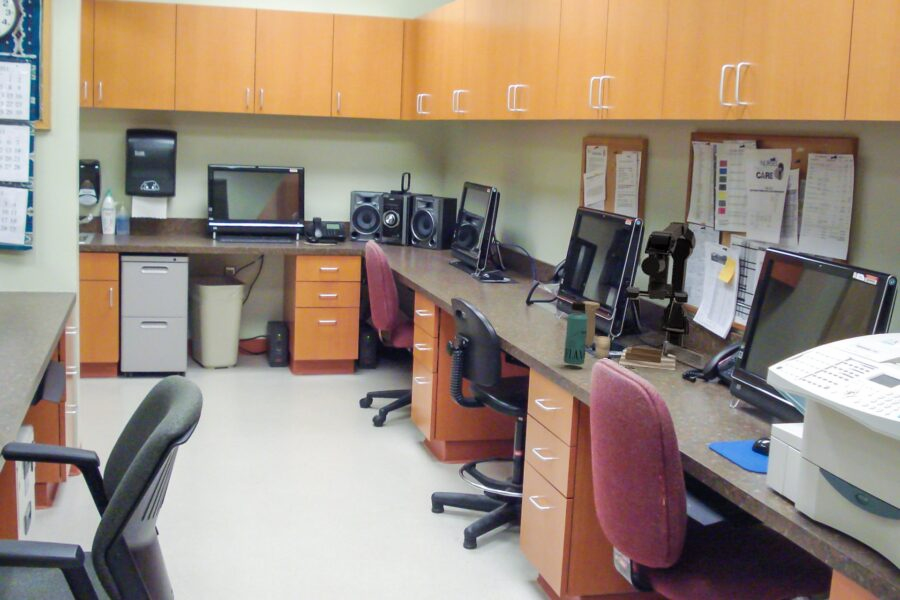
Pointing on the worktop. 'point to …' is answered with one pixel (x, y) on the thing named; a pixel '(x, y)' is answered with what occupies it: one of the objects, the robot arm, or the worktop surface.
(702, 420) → the worktop surface
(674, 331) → the robot arm
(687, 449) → the worktop surface
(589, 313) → the handle
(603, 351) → the pivot pin
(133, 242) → the worktop surface
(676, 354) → the bar
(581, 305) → the beverage bottle
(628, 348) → the cradle
